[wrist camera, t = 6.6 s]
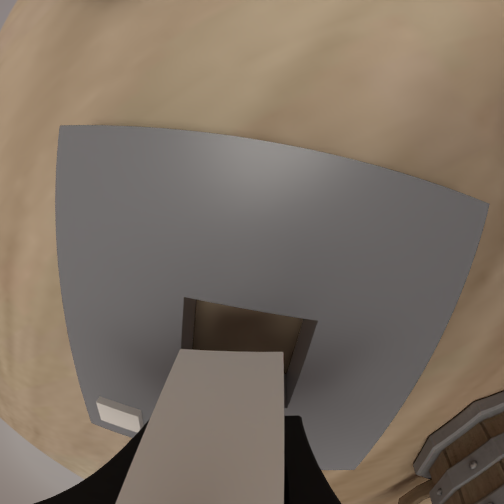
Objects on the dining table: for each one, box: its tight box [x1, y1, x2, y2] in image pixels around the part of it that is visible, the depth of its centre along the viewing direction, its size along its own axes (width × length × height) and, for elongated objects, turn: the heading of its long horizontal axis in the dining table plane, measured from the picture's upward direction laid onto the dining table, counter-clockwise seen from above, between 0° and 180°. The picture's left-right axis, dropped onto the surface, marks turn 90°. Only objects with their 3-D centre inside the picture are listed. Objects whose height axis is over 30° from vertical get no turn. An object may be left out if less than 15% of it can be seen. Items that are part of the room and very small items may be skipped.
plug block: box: [115, 349, 284, 504], centre depth 8 cm, size 4×4×8 cm
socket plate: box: [55, 125, 489, 470], centre depth 15 cm, size 20×20×4 cm
